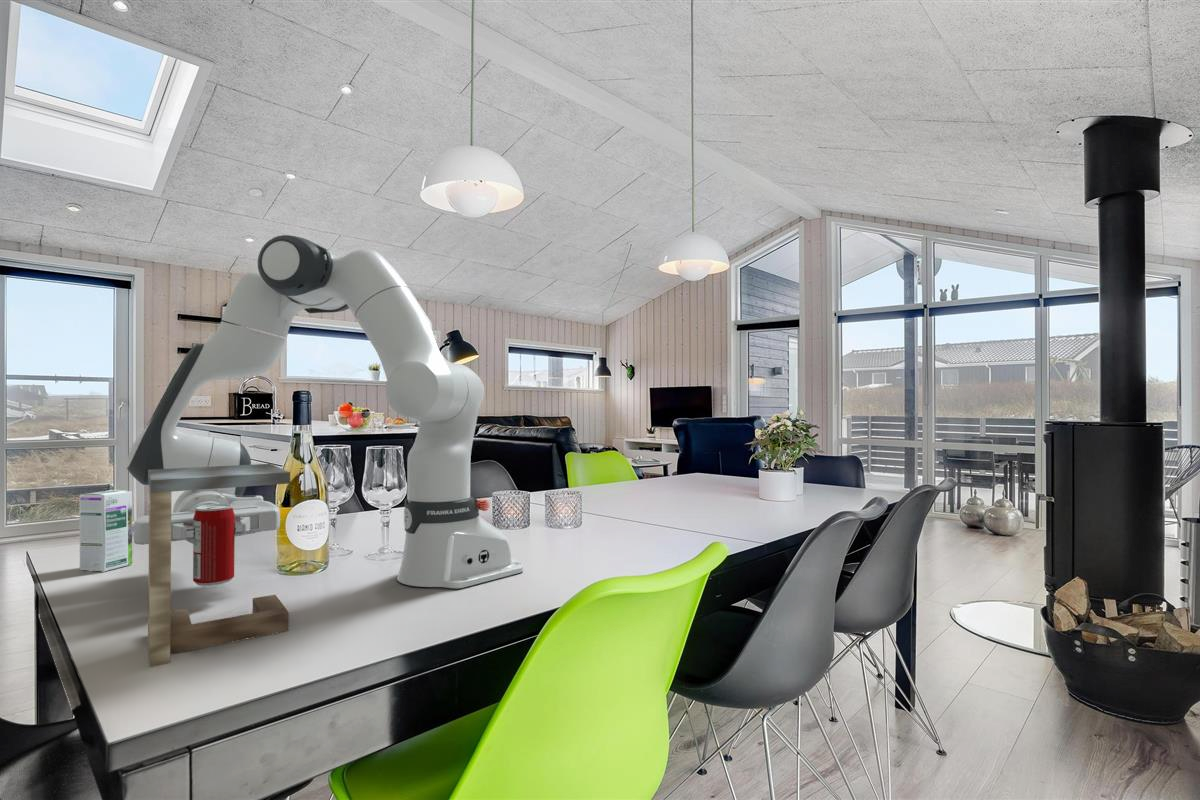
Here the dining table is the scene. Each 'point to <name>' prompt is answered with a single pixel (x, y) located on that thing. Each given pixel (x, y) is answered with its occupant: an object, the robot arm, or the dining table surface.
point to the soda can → (213, 544)
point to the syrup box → (105, 530)
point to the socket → (228, 626)
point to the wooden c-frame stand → (160, 533)
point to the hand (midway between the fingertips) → (215, 531)
